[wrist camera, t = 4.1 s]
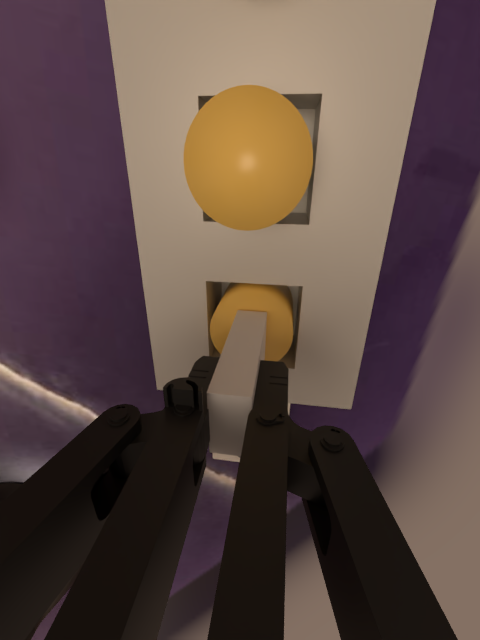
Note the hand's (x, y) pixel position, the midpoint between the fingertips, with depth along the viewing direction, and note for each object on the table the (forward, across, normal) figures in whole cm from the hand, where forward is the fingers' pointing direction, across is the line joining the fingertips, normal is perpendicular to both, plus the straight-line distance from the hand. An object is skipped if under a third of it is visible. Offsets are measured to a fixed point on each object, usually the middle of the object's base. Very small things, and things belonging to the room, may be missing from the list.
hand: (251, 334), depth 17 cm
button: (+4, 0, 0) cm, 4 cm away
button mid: (+2, 0, -8) cm, 8 cm away
